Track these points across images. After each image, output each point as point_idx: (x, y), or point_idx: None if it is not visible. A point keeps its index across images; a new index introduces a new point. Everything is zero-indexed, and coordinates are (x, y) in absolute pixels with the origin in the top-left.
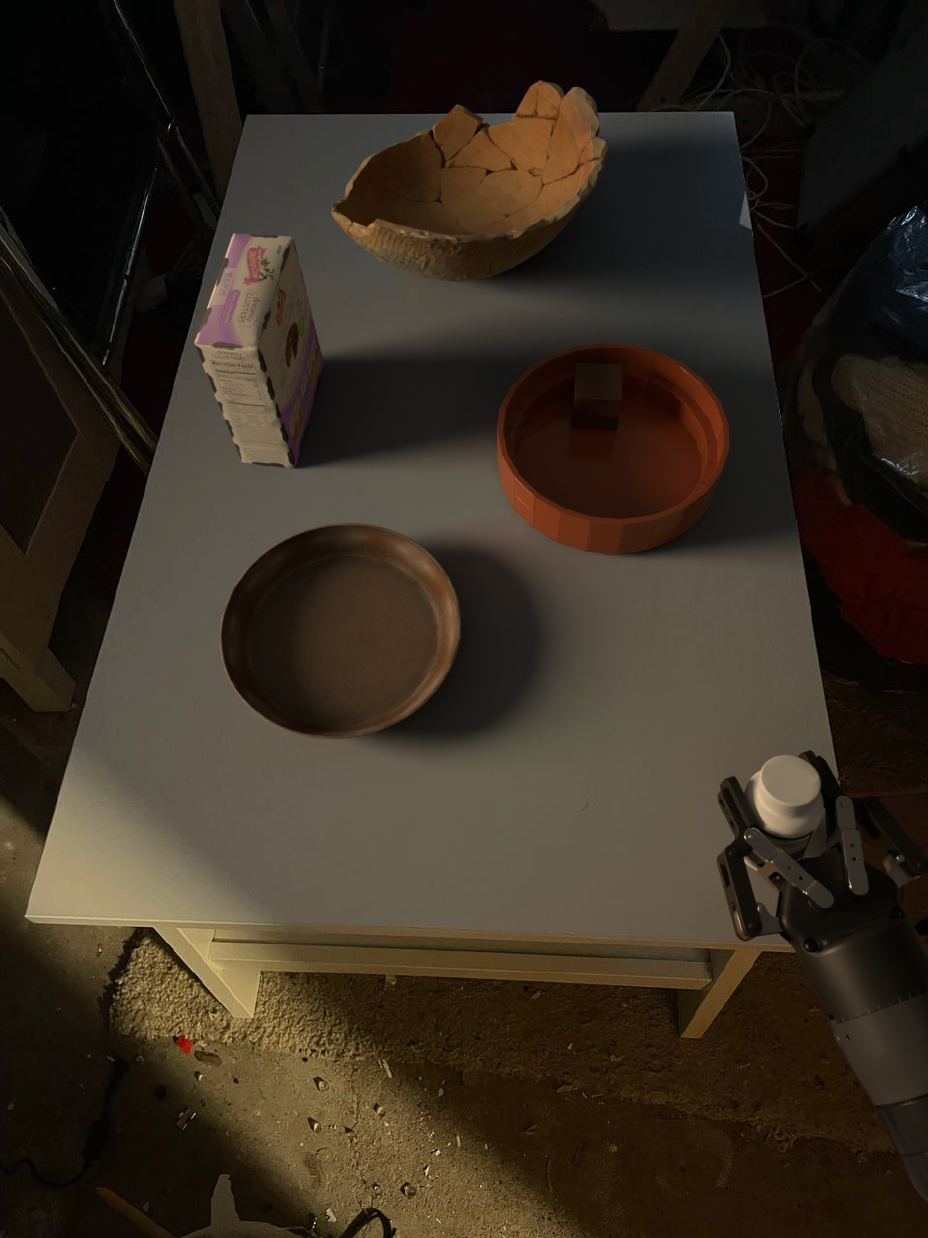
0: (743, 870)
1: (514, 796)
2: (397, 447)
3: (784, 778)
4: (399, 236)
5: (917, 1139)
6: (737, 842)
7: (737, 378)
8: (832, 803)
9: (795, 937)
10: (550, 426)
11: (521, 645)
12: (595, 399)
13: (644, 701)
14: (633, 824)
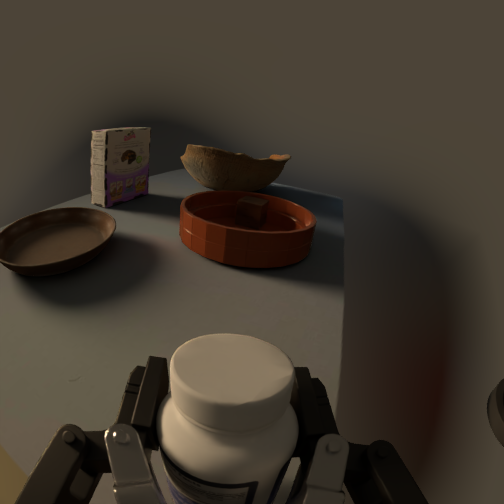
0: (64, 469)
1: (39, 345)
2: (149, 212)
3: (222, 358)
4: (193, 148)
5: None
6: (99, 436)
7: (331, 236)
8: (312, 445)
9: None
10: (224, 221)
11: (126, 281)
12: (247, 203)
13: (181, 339)
14: (97, 415)
